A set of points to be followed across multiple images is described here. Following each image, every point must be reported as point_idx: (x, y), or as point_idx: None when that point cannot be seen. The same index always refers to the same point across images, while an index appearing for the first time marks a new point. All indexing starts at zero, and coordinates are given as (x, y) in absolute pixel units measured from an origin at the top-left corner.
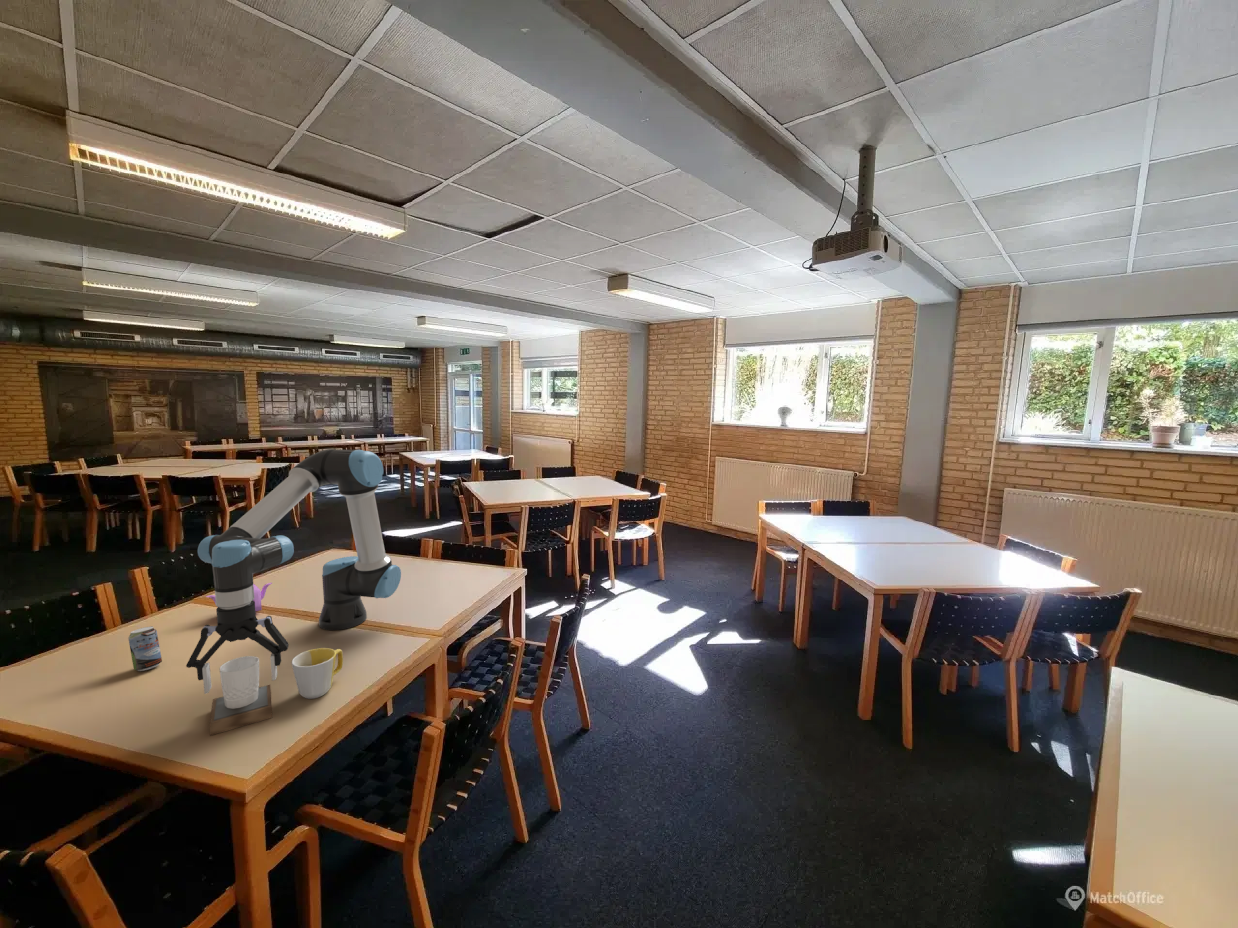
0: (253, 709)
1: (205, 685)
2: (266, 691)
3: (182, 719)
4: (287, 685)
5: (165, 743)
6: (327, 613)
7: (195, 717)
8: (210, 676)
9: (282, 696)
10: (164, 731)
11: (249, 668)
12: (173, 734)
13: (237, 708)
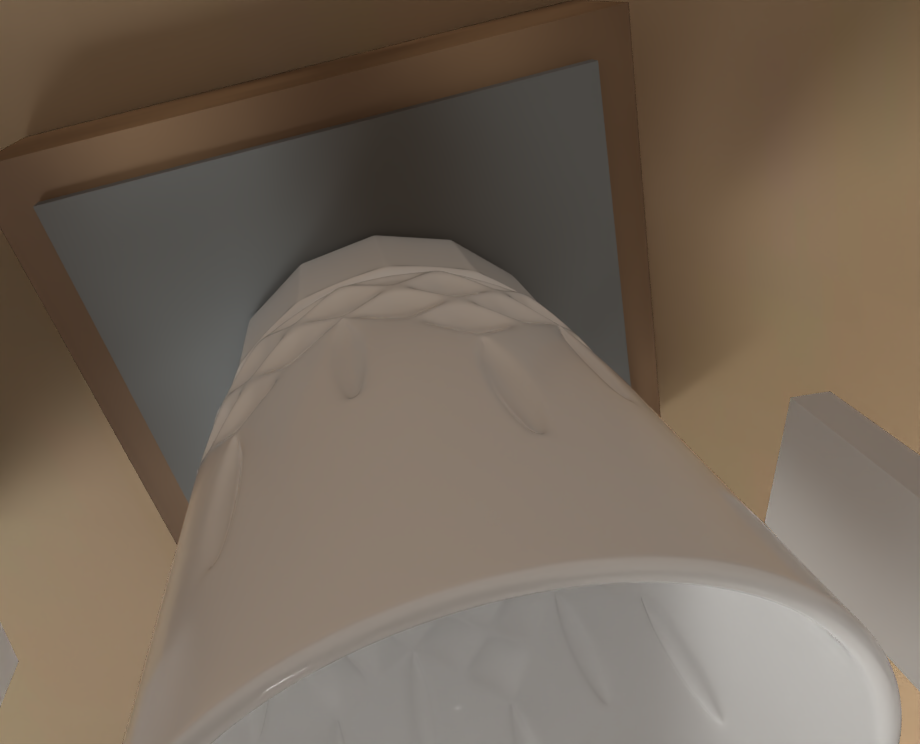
0: (197, 159)
1: (903, 459)
2: None
3: (801, 366)
4: (145, 655)
5: (896, 23)
6: None
7: (725, 368)
8: (876, 637)
9: (110, 509)
10: (900, 233)
11: (192, 690)
12: (847, 160)
13: (399, 235)
